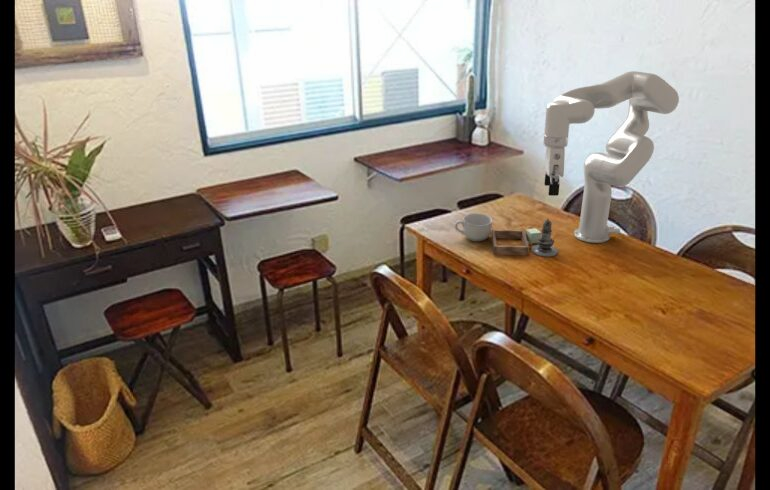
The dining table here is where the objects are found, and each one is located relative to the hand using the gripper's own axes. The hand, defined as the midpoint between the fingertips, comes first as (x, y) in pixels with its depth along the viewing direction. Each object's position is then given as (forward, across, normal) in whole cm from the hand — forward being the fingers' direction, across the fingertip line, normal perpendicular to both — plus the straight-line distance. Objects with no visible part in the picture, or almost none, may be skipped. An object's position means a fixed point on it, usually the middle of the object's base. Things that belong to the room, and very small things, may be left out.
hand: (551, 190), depth 193 cm
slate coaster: (+23, 0, 0) cm, 23 cm away
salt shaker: (+22, 0, 0) cm, 23 cm away
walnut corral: (+23, +4, +13) cm, 26 cm away
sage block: (+23, +9, +4) cm, 25 cm away
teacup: (+23, +10, +26) cm, 36 cm away
